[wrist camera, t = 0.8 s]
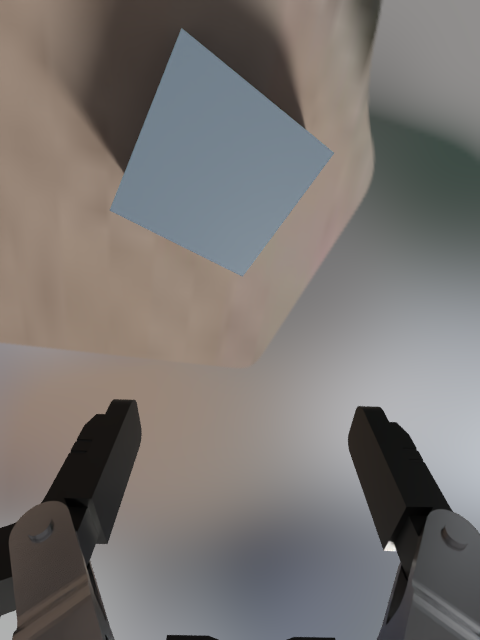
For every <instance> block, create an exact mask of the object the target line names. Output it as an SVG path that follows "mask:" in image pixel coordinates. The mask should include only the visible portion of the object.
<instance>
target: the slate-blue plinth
mask: <svg viewBox="0 0 480 640" xmlns="http://www.w3.org/2000/svg"><path fill="white" fill-rule="evenodd" d="M333 154H334V152H332V151H331V150H330V149H329V148H327V147H326V146H325V145H324V144H323V143H321V142H320V141H319V140H318V139H316V138H315V137H314V136H313V135H312V134H310V133H309V132H308V131H307V130H305V129H304V128H303V127H302V126H301V125H299V124H298V123H297V122H296V121H295V120H293V119H292V118H291V117H290V116H288V115H287V114H286V113H285V112H284V111H282V110H281V109H280V108H279V107H277V106H276V105H275V104H274V103H273V102H271V101H270V100H269V99H268V98H266V97H265V96H264V95H263V94H262V93H260V92H259V91H258V90H257V89H255V88H254V87H253V86H252V85H251V84H249V83H248V82H247V81H246V80H244V79H243V78H242V77H241V76H240V75H238V74H237V73H236V72H235V71H233V70H232V69H231V68H230V67H229V66H227V65H226V64H225V63H224V62H222V61H221V60H220V59H219V58H218V57H216V56H215V55H214V54H213V53H211V52H210V51H209V50H208V49H207V48H205V47H204V46H203V45H202V44H200V43H199V42H198V41H197V40H196V39H194V38H193V37H192V36H191V35H189V34H188V33H187V32H186V31H185V30H183V29H182V28H181V31H180V33H179V36H178V38H177V41H176V43H175V46H174V48H173V51H172V53H171V56H170V59H169V61H168V64H167V66H166V69H165V71H164V74H163V76H162V79H161V81H160V84H159V87H158V89H157V92H156V94H155V97H154V99H153V102H152V104H151V107H150V109H149V112H148V114H147V117H146V120H145V122H144V125H143V127H142V130H141V132H140V135H139V137H138V140H137V142H136V145H135V147H134V150H133V153H132V155H131V158H130V160H129V163H128V165H127V168H126V170H125V173H124V175H123V178H122V180H121V183H120V186H119V188H118V191H117V193H116V196H115V198H114V201H113V203H112V206H111V208H110V211H112V212H114V213H116V214H118V215H120V216H122V217H124V218H126V219H128V220H130V221H132V222H134V223H136V224H138V225H140V226H142V227H144V228H146V229H148V230H150V231H152V232H154V233H156V234H158V235H160V236H162V237H164V238H166V239H168V240H170V241H172V242H174V243H176V244H178V245H180V246H182V247H184V248H186V249H188V250H190V251H192V252H194V253H196V254H198V255H200V256H202V257H204V258H206V259H208V260H210V261H212V262H214V263H216V264H218V265H220V266H222V267H224V268H226V269H228V270H230V271H232V272H234V273H236V274H238V275H240V276H242V277H243V275H244V274H245V273H246V271H247V270H248V269H249V267H250V266H251V265H252V263H253V262H254V261H255V259H256V258H257V257H258V255H259V254H260V252H261V251H262V250H263V248H264V247H265V246H266V244H267V243H268V242H269V240H270V239H271V238H272V236H273V235H274V234H275V232H276V231H277V230H278V228H279V227H280V225H281V224H282V223H283V221H284V220H285V219H286V217H287V216H288V215H289V213H290V212H291V211H292V209H293V208H294V207H295V205H296V204H297V203H298V201H299V200H300V198H301V197H302V196H303V194H304V193H305V192H306V190H307V189H308V188H309V186H310V185H311V184H312V182H313V181H314V180H315V178H316V177H317V176H318V174H319V173H320V171H321V170H322V169H323V167H324V166H325V165H326V163H327V162H328V161H329V159H330V158H331V157H332V155H333Z"/></svg>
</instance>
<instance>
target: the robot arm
mask: <svg viewBox="0 0 480 640" xmlns="http://www.w3.org/2000/svg"><path fill="white" fill-rule="evenodd" d="M140 442H141V424H140V418H139V413H138V408H137V402H136V401H135V400H118V399H114V400H113V401H112V402H111V404H110V406H109V407H108V410H107V412H106V414H96V415H95V416H94V417H93V418H92V419H91V420H90V421H89V422H88V423H87V424H85V425H84V427H83V429H82V431H81V433H80V435H79V436H78V438H77V442H75V443H74V445H73V447H72V449H71V453H69V454H68V457H67V458H66V460H65V462H64V464H63V466H62V467H61V469H60V471H59V473H58V475H57V477H56V478H55V480H54V482H53V484H52V486H51V487H50V489H49V491H48V493H47V495H46V496H45V498H44V500H43V501H42V502H41V504H39V505H36V506H35V507H33V508H32V509H30V510H29V511H27V512H26V513H25V514H24V515H23V516H22V517H21V518H20V519H19V520H18V521H17V522H16V523H14V524H11V525H8V526H5V527H2V528H0V616H1V615H4V614H6V613H9V612H12V611H15V610H16V613H17V630H16V631H15V632H14V633H13V638H12V640H114V637H113V634H112V631H111V629H110V626H109V622H108V619H107V616H106V612H105V609H104V605H103V602H102V599H101V595H100V592H99V589H98V586H97V582H96V579H95V575H94V572H93V568H92V565H91V562H90V558H91V555H92V552H93V549H94V547H95V544H107V543H108V540H109V538H110V534H111V531H112V528H113V525H114V522H115V519H116V516H117V513H118V510H119V507H120V504H121V501H122V498H123V495H124V492H125V489H126V486H127V483H128V480H129V477H130V474H131V471H132V468H133V465H134V461H135V459H136V456H137V452H138V450H139V446H140ZM348 446H349V451H350V454H351V457H352V460H353V463H354V466H355V469H356V472H357V475H358V478H359V480H360V483H361V486H362V489H363V492H364V495H365V498H366V501H367V504H368V506H369V509H370V512H371V515H372V518H373V521H374V524H375V527H376V529H377V532H378V535H379V538H380V541H381V544H382V547H383V550H384V551H397V553H398V556H399V558H400V561H401V562H400V564H399V566H398V570H397V573H396V577H395V581H394V584H393V588H392V592H391V595H390V599H389V602H388V606H387V610H386V613H385V617H384V620H383V624H382V627H381V630H380V633H379V636H378V638H377V640H480V534H479V532H478V531H477V530H476V528H475V527H474V526H473V525H472V524H471V523H470V522H469V521H467V520H466V519H465V518H463V517H462V516H460V515H459V514H456V513H454V512H453V511H452V510H451V508H450V506H449V505H448V503H447V501H446V499H445V498H444V496H443V494H442V492H441V491H440V489H439V487H438V485H437V484H436V482H435V480H434V478H433V476H432V475H431V473H430V471H429V469H428V468H427V466H426V464H425V463H424V462H423V459H422V457H421V455H420V453H419V452H418V451H417V450H416V447H415V445H414V443H413V441H412V439H411V438H410V436H409V434H408V433H407V432H406V431H404V429H403V428H401V427H400V426H399V425H398V424H397V423H396V422H389V421H388V419H387V417H386V415H385V413H384V411H383V410H382V409H381V408H380V407H365V406H364V407H363V406H359V407H357V409H356V411H355V415H354V418H353V421H352V425H351V428H350V431H349V435H348ZM166 640H218V639H215V638H213V637H210V636H192V635H191V636H190V635H189V636H187V635H167V639H166ZM287 640H335V638H316V637H293V638H290V639H287Z"/></svg>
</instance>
